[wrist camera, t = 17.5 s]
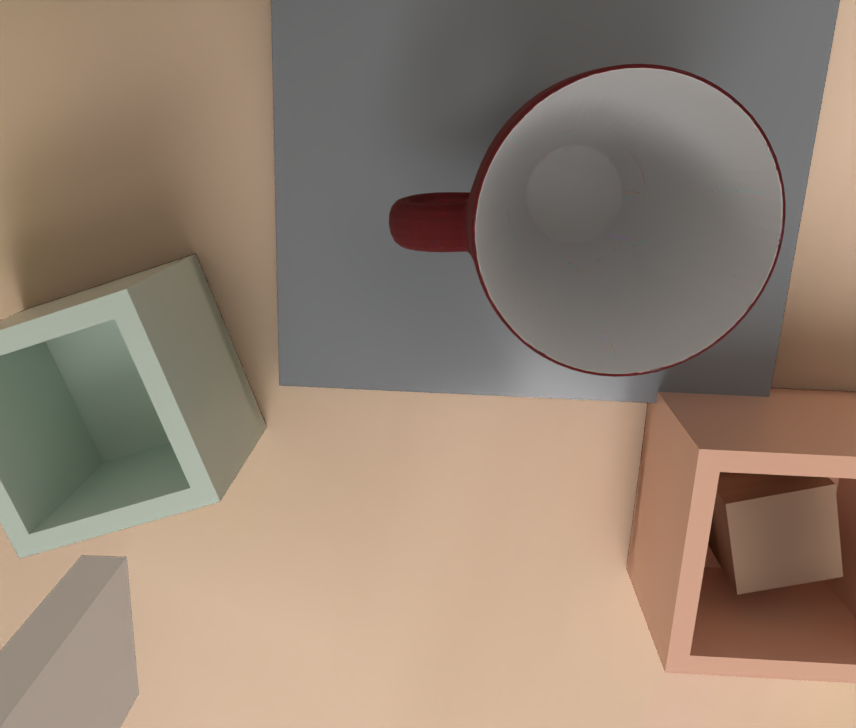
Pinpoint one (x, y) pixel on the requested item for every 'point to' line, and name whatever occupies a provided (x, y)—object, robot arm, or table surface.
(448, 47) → the slate board
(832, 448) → the tan open box
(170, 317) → the sage open box
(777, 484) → the tan cube
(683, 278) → the mug
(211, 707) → the table surface
